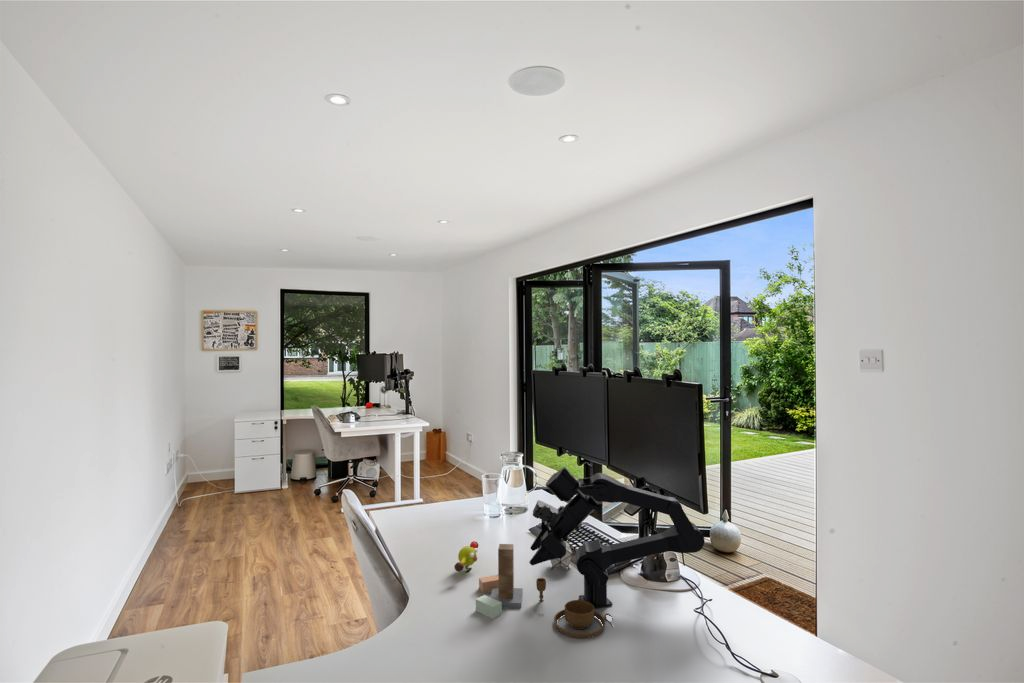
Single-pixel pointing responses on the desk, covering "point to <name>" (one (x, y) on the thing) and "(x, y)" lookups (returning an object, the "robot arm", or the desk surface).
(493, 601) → the sage brick
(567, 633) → the place setting
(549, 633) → the desk surface
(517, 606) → the slate coaster
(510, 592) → the walnut block
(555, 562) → the game die
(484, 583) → the terracotta brick
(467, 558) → the toy figure
